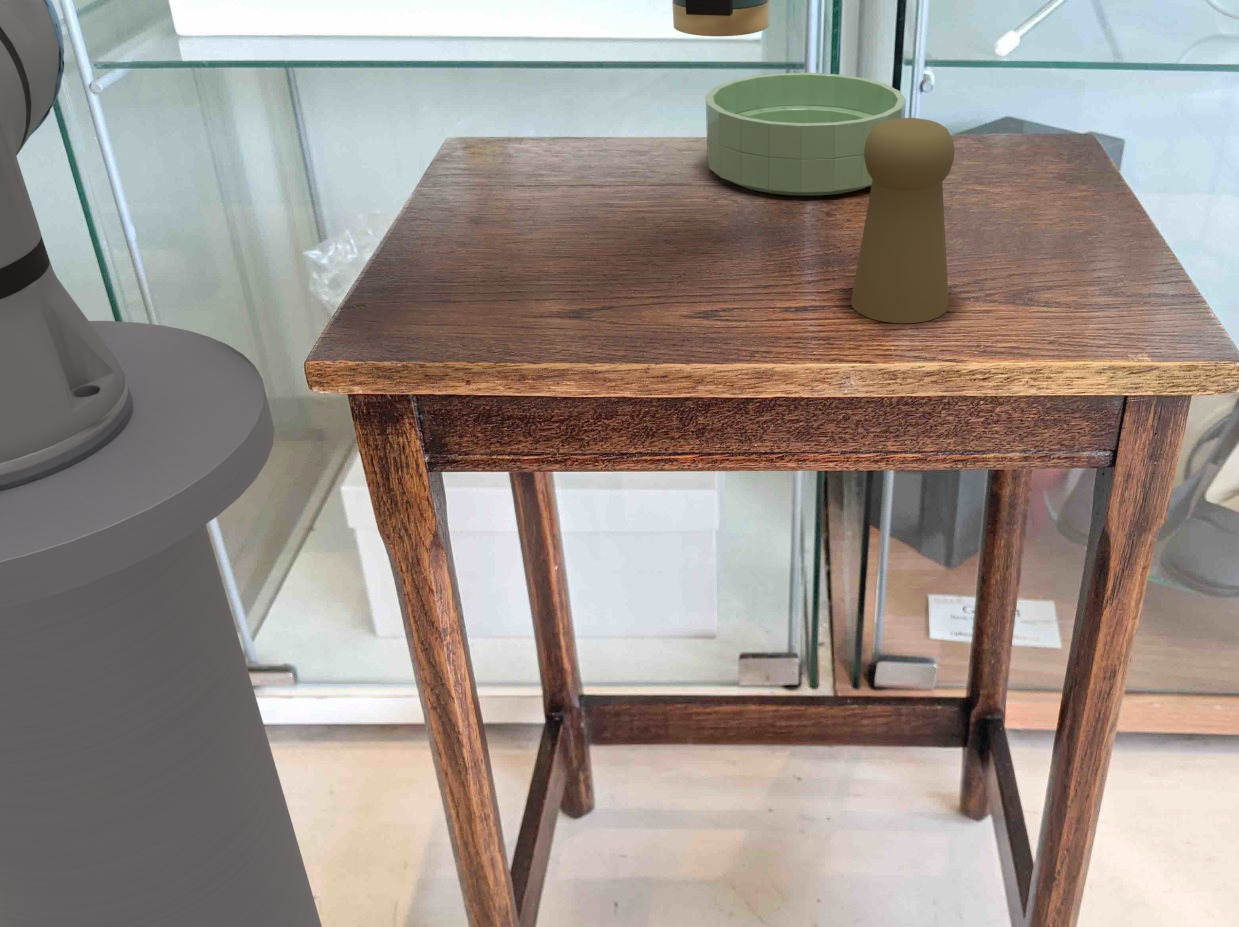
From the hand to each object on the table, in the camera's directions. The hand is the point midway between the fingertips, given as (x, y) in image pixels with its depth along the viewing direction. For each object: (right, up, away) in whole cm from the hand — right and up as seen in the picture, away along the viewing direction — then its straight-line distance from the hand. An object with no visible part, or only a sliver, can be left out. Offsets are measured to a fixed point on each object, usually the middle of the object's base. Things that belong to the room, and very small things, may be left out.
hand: (720, 1), depth 81 cm
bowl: (+6, -3, +22) cm, 23 cm away
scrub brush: (0, -1, +1) cm, 1 cm away
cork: (+11, -19, 0) cm, 22 cm away
